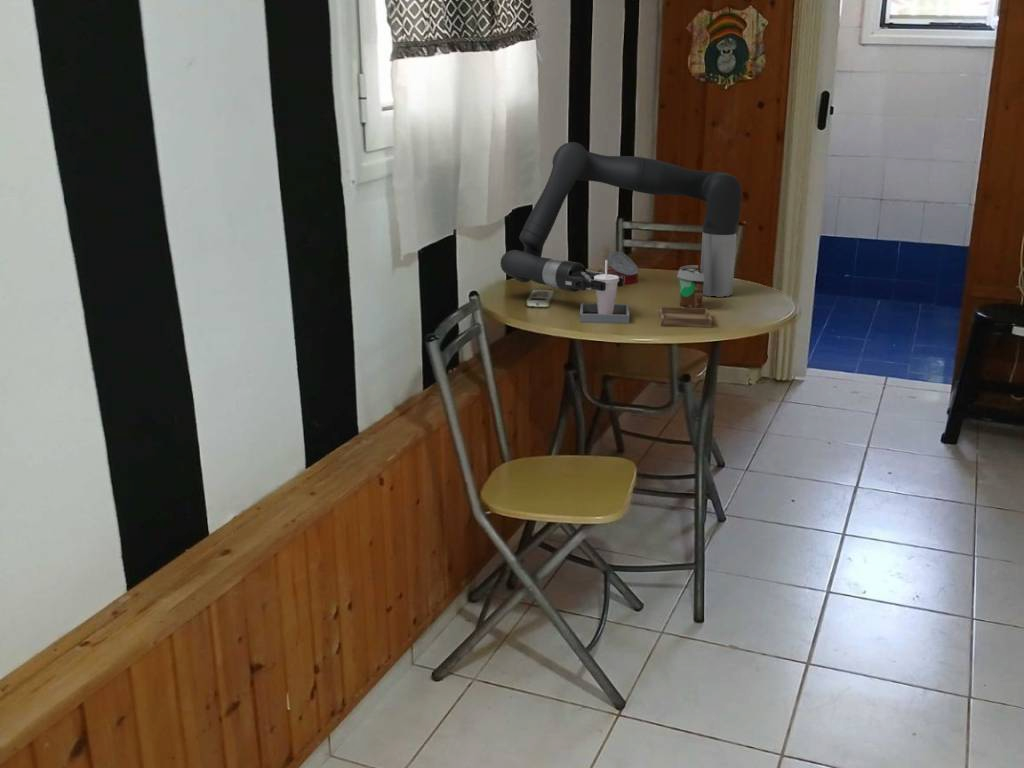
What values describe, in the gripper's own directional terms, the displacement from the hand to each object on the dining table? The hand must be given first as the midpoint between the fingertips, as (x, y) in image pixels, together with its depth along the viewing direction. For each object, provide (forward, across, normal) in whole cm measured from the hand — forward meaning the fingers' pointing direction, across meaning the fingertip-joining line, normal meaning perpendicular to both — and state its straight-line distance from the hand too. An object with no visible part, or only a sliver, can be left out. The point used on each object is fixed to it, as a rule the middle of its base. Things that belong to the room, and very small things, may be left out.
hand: (613, 284), depth 261 cm
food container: (+5, +25, +9) cm, 27 cm away
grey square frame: (-2, 0, +9) cm, 9 cm away
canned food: (-28, +38, +10) cm, 48 cm away
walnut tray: (+14, +11, +9) cm, 20 cm away
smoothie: (-2, 0, +8) cm, 9 cm away
